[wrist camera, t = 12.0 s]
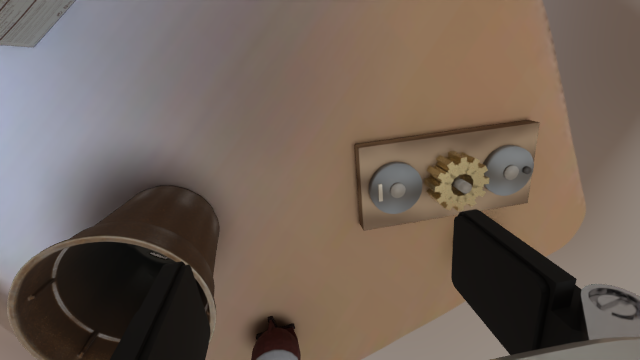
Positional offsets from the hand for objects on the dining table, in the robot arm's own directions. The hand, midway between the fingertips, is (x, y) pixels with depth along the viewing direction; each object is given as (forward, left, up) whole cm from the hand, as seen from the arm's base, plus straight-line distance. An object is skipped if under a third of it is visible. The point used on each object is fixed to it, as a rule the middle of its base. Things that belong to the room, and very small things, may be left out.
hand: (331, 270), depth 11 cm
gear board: (+10, +21, -30) cm, 38 cm away
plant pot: (+12, -17, -31) cm, 37 cm away
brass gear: (+10, +21, -28) cm, 36 cm away
